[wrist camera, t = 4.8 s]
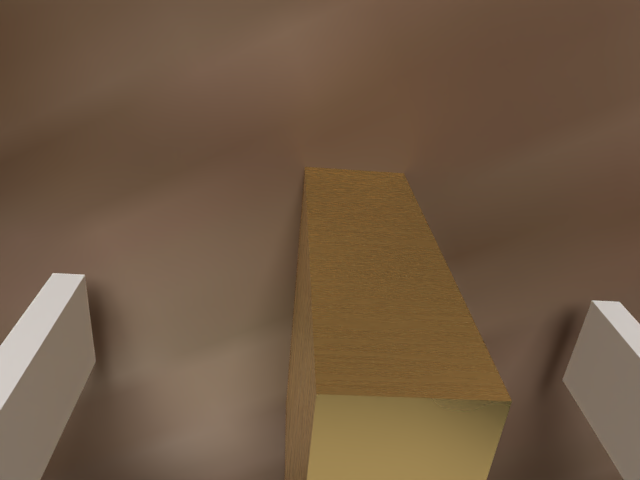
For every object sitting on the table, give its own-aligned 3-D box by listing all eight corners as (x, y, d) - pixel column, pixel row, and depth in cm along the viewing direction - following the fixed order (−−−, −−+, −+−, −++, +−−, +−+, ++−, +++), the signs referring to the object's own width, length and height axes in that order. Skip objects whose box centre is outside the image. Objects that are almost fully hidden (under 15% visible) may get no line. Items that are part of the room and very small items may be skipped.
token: (305, 166, 14) (315, 394, 7) (403, 173, 14) (511, 401, 7) (286, 405, 18) (281, 712, 11) (364, 408, 18) (410, 711, 11)
